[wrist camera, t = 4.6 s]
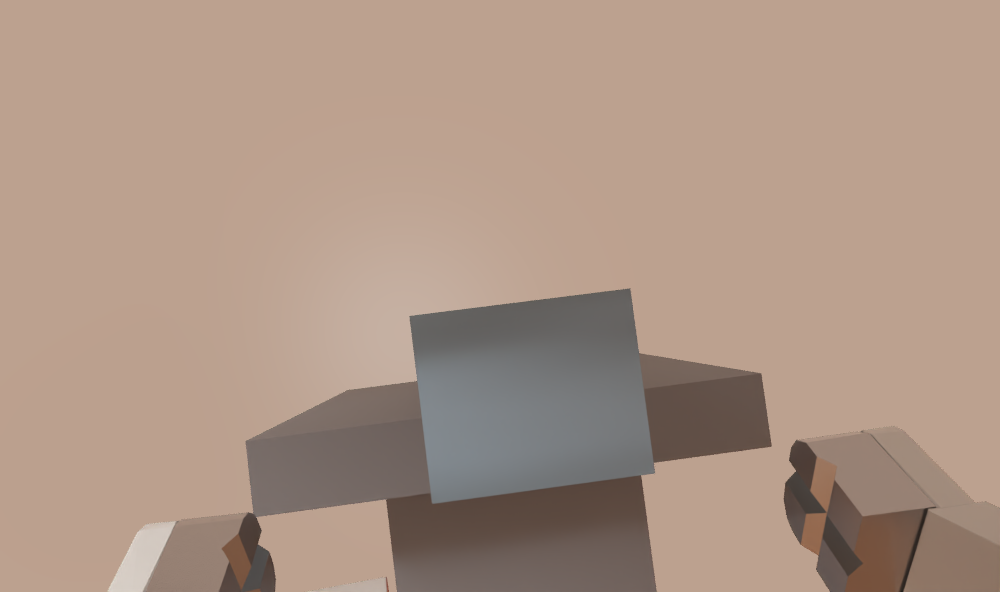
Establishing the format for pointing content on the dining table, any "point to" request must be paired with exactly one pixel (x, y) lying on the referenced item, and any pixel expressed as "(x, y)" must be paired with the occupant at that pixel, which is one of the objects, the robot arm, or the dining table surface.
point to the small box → (360, 586)
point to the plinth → (507, 517)
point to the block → (531, 395)
